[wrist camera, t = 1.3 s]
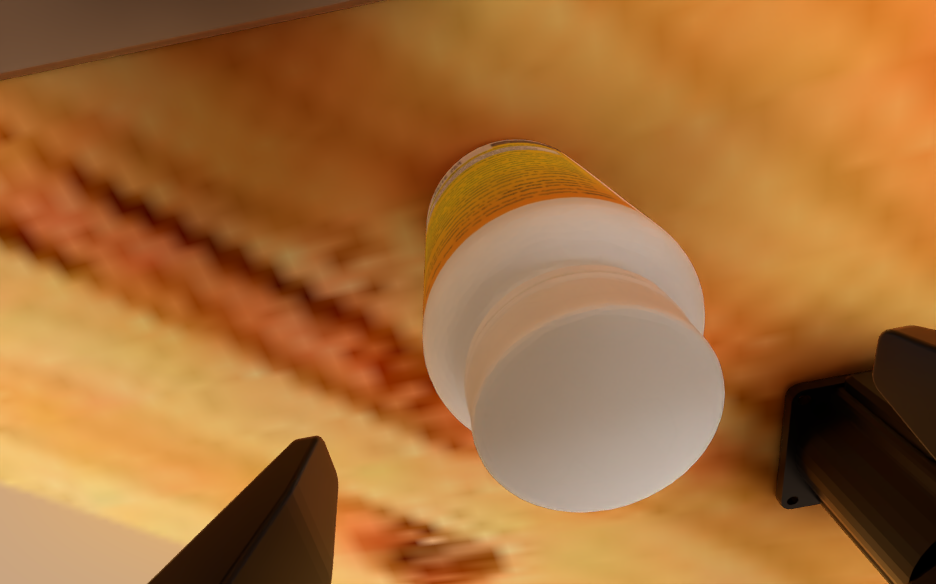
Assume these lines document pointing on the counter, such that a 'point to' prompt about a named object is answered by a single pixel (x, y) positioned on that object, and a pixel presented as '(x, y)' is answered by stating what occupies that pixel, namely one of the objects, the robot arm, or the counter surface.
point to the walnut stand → (129, 26)
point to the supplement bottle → (565, 331)
